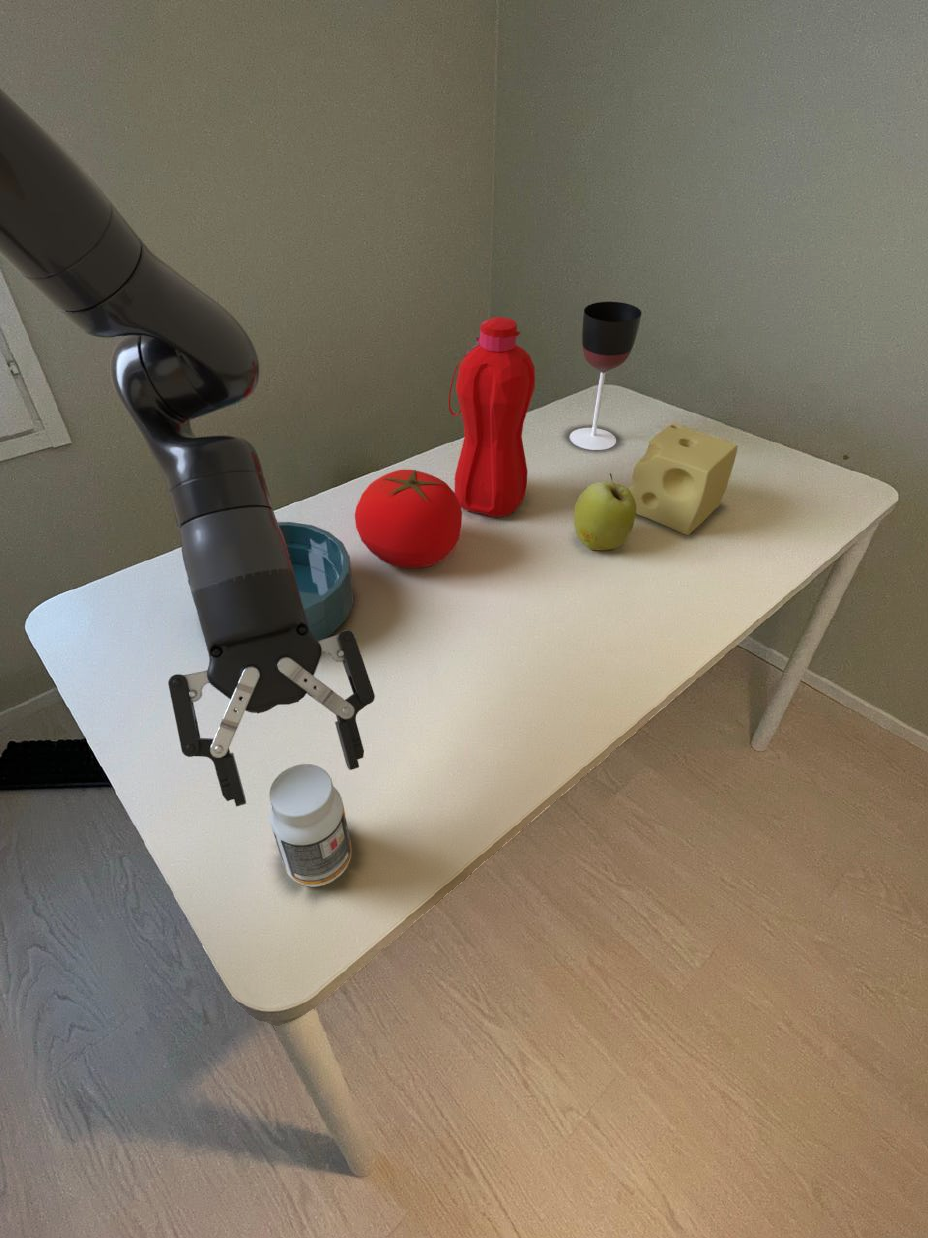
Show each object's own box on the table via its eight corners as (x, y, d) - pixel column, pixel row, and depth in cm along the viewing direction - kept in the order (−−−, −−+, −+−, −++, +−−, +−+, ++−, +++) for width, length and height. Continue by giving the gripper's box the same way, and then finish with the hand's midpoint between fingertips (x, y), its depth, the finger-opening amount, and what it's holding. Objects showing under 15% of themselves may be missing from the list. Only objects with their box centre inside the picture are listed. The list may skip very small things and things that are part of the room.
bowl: (214, 678, 74) (201, 636, 70) (191, 581, 86) (179, 540, 82) (373, 634, 79) (369, 594, 75) (331, 549, 91) (326, 509, 87)
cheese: (622, 510, 99) (635, 446, 92) (659, 480, 105) (673, 418, 98) (690, 539, 94) (709, 473, 87) (724, 505, 100) (744, 442, 94)
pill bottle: (366, 848, 60) (356, 779, 53) (321, 903, 56) (304, 836, 50) (314, 816, 62) (299, 746, 55) (268, 866, 58) (245, 798, 52)
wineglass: (557, 440, 114) (572, 312, 100) (586, 421, 119) (605, 297, 105) (599, 456, 110) (621, 326, 97) (627, 436, 115) (652, 310, 102)
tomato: (436, 594, 85) (435, 517, 77) (343, 564, 89) (334, 489, 81) (476, 542, 93) (479, 467, 85) (389, 517, 97) (385, 444, 89)
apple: (551, 536, 92) (576, 464, 87) (587, 530, 98) (613, 462, 93) (597, 565, 88) (626, 491, 83) (632, 557, 93) (662, 487, 88)
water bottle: (460, 476, 105) (463, 301, 88) (530, 491, 102) (547, 313, 85) (436, 507, 99) (434, 325, 82) (510, 525, 96) (524, 340, 79)
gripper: (135, 595, 47) (198, 827, 47) (340, 548, 52) (398, 761, 52) (149, 606, 55) (204, 808, 55) (329, 564, 59) (380, 751, 59)
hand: (299, 785), depth 53 cm, fingers open, 8 cm apart
